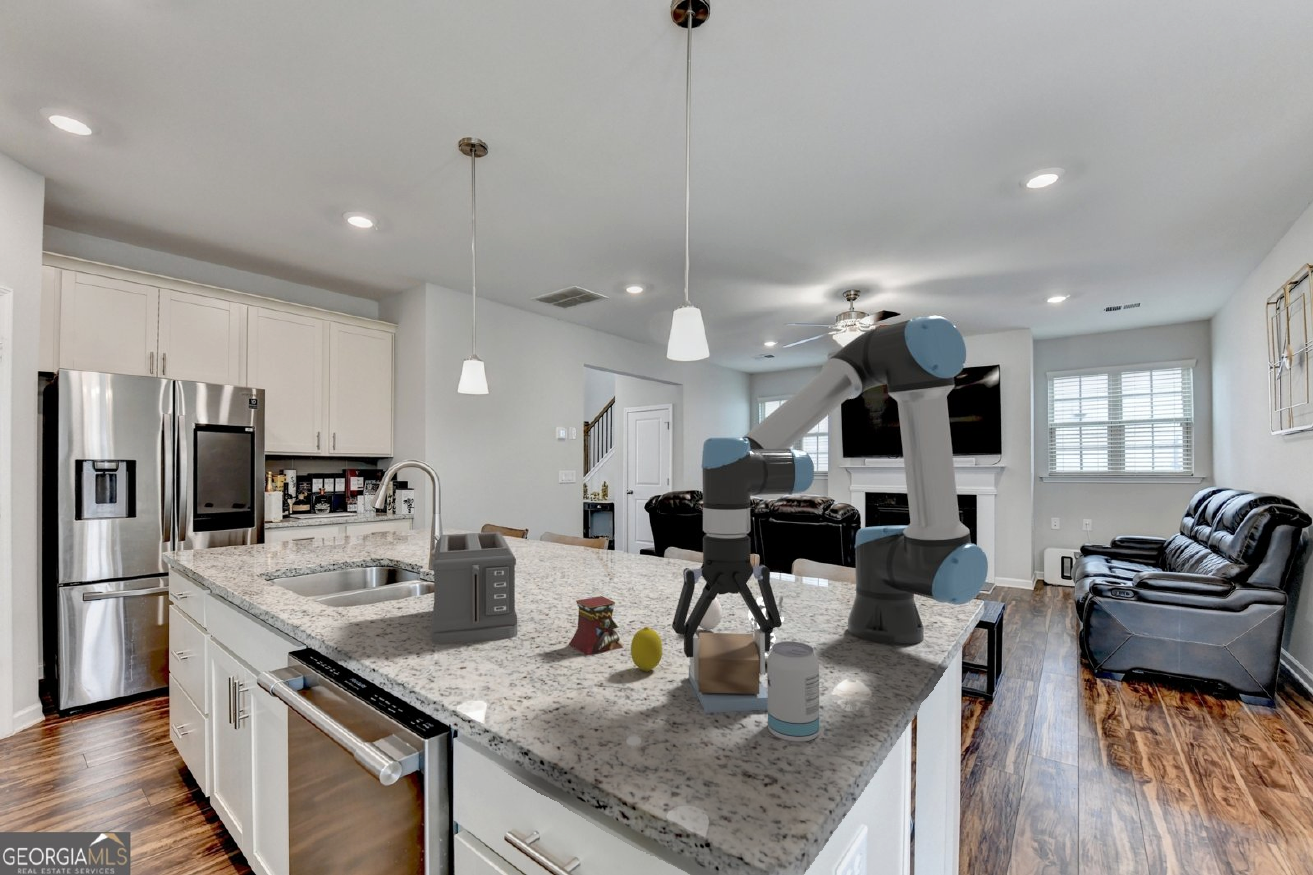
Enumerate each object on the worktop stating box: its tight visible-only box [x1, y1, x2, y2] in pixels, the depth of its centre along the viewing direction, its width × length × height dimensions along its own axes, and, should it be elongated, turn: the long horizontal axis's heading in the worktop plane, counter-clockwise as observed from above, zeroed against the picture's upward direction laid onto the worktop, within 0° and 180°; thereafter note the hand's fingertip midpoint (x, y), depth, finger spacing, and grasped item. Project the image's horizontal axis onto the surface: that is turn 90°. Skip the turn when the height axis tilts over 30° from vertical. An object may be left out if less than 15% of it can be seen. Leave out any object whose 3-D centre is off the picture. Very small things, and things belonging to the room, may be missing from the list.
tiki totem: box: [568, 595, 624, 656], centre depth 116 cm, size 9×9×9 cm
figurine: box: [748, 595, 785, 665], centre depth 107 cm, size 9×6×12 cm
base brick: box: [688, 664, 768, 714], centre depth 93 cm, size 10×14×3 cm
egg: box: [694, 596, 723, 631], centre depth 127 cm, size 6×6×8 cm
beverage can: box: [766, 641, 821, 743], centre depth 80 cm, size 7×7×12 cm
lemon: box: [630, 626, 663, 672], centre depth 103 cm, size 6×6×8 cm
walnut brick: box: [698, 632, 760, 694], centre depth 93 cm, size 9×12×5 cm
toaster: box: [430, 531, 518, 646], centre depth 131 cm, size 17×31×19 cm, turn 19°
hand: (727, 674), depth 93 cm, fingers closed on walnut brick, 10 cm apart
